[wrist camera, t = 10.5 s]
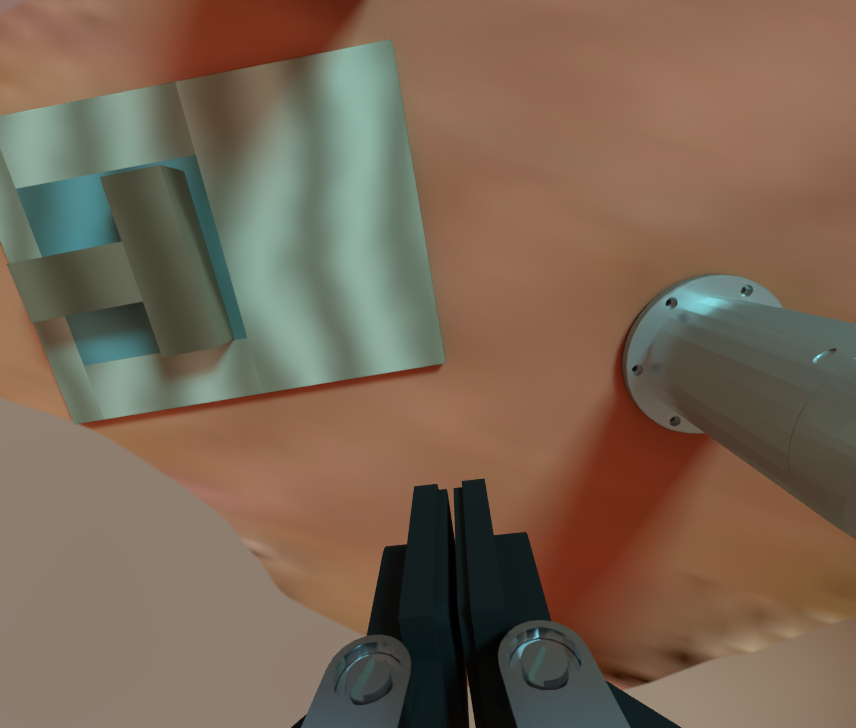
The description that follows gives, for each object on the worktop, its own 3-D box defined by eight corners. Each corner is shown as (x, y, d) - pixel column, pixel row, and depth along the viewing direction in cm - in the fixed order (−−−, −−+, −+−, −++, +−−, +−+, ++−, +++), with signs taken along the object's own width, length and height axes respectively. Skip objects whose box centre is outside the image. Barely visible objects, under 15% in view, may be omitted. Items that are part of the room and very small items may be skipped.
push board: (392, 45, 31) (391, 39, 30) (445, 359, 37) (445, 363, 36) (-33, 128, 32) (-47, 125, 31) (83, 419, 38) (74, 424, 37)
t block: (183, 170, 32) (159, 164, 29) (234, 338, 35) (217, 347, 32) (19, 204, 33) (-20, 201, 30) (84, 365, 36) (54, 377, 33)
